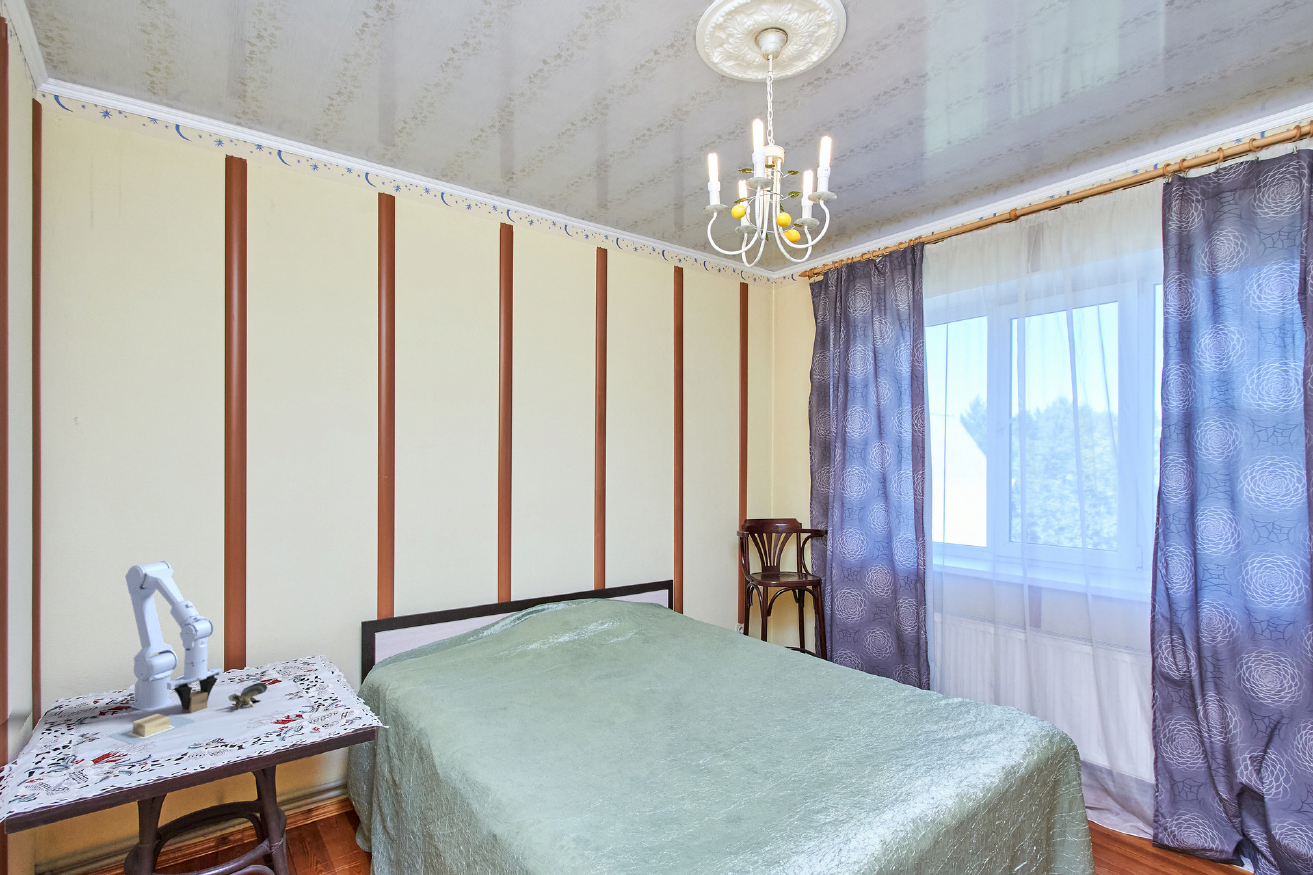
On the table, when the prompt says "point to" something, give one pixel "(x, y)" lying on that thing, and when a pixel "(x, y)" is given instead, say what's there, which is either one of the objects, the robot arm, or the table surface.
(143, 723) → the oak slab
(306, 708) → the table surface
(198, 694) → the walnut block
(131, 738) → the board
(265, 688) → the eagle figurine
